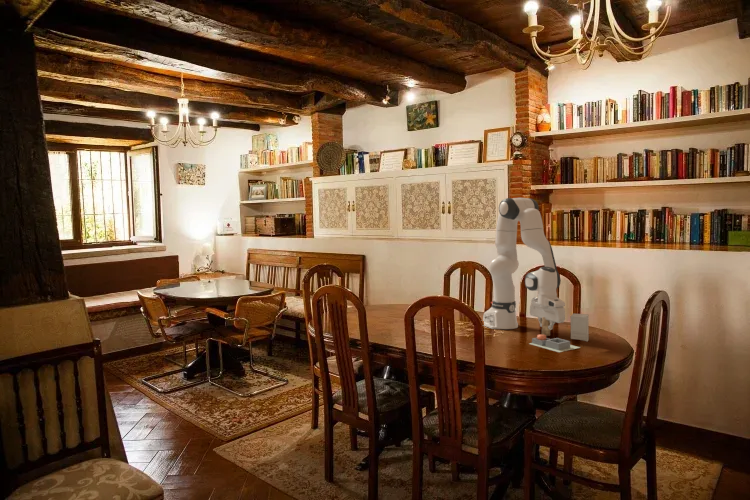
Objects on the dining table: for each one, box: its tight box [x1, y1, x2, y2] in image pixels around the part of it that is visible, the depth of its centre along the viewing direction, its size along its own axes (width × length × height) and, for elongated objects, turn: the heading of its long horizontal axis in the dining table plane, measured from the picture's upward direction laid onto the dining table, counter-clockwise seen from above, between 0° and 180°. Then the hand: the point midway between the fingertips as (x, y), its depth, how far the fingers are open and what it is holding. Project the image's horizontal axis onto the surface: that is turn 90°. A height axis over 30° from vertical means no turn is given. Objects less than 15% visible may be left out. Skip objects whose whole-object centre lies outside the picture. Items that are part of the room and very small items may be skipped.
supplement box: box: [570, 313, 590, 342], centre depth 253 cm, size 7×7×13 cm
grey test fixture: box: [528, 337, 581, 353], centre depth 240 cm, size 18×14×4 cm
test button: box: [536, 333, 547, 341], centre depth 244 cm, size 4×4×2 cm
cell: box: [541, 317, 551, 337], centre depth 256 cm, size 4×4×10 cm
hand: (546, 328), depth 257 cm, fingers closed on cell, 4 cm apart
